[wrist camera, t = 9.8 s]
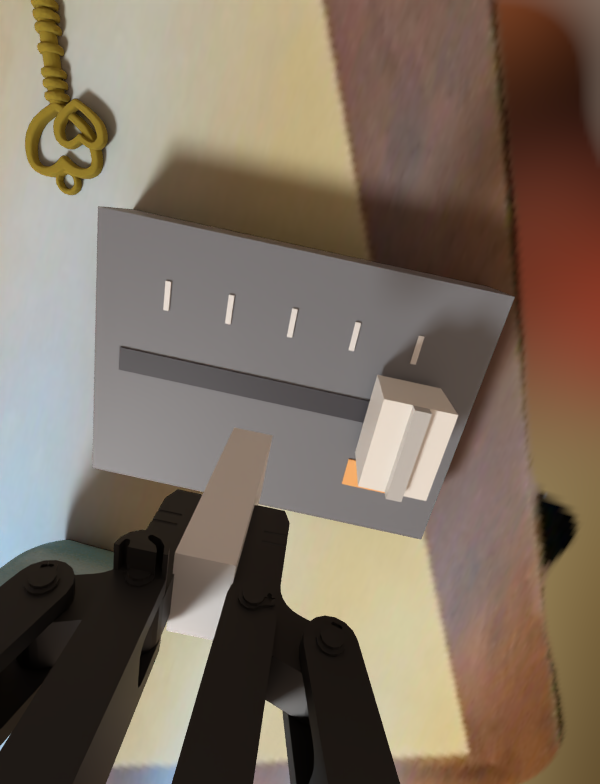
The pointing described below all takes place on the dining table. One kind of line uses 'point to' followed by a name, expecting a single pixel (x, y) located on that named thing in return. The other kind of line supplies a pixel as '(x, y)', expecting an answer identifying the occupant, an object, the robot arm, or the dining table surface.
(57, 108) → the key
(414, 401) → the slider cap
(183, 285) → the dimmer console
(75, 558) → the flower pot
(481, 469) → the dining table surface
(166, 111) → the dining table surface
